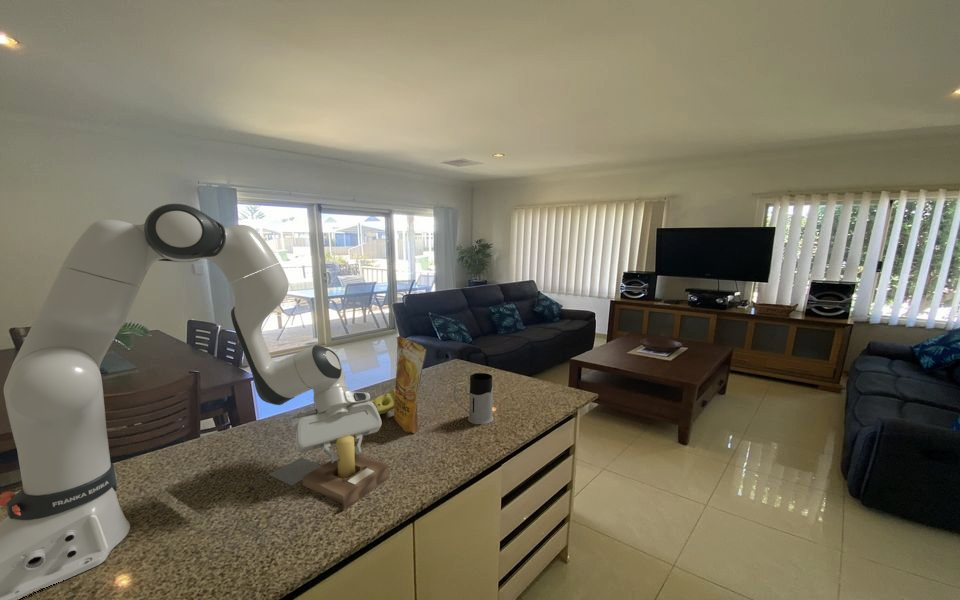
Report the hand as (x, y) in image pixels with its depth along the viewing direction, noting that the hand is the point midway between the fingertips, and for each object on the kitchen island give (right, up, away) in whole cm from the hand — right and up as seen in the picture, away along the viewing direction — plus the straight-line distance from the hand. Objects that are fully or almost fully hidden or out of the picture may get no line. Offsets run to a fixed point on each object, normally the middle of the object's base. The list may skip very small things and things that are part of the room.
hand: (346, 458), depth 90 cm
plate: (-14, -6, +4) cm, 16 cm away
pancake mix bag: (+8, -3, +34) cm, 35 cm away
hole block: (0, -7, +1) cm, 7 cm away
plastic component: (-6, -2, +40) cm, 40 cm away
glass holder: (+30, -3, +37) cm, 48 cm away
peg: (0, -5, +1) cm, 6 cm away
